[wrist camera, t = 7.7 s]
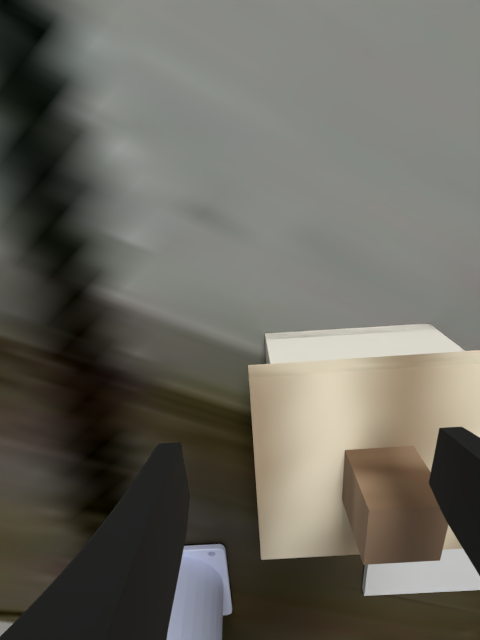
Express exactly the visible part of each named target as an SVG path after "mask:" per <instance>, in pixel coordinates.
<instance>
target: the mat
mask: <svg viewBox="0 0 480 640" xmlns="http://www.w3.org/2000/svg"><path fill="white" fill-rule="evenodd" d="M362 590H363V593H364V596H369V595H389V594H409V593H428V592H448V591H468V590H480V576H479V574H478V572H477V571H476V569H475V568H474V566H473V564H472V563H471V561H470V559H469V558H468V556H467V555H466V553H465V551H464V550H463V549H445V550H442V555H441V559H440V561H424V562H406V563H387V564H369V565H365V568H364V577H363V585H362Z"/></svg>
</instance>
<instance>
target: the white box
mask: <svg viewBox="0 0 480 640" xmlns="http://www.w3.org/2000/svg"><path fill="white" fill-rule="evenodd" d="M265 351H266V364H274V363H290V362H306V361H321V360H337V359H352V358H368V357H383V356H399V355H414V354H430V353H445V352H461V351H464V350H463V349H462V348H460V347H459V346H458V345H457V344H455V343H454V342H453V341H451V340H450V339H449V338H447V337H446V336H445V335H443V334H442V333H441V332H439V331H438V330H437V329H436V328H434V327H433V326H432V325H430V324H413V325H397V326H381V327H364V328H348V329H331V330H315V331H298V332H282V333H266V334H265Z"/></svg>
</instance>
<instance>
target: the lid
mask: <svg viewBox="0 0 480 640" xmlns="http://www.w3.org/2000/svg"><path fill="white" fill-rule="evenodd" d="M248 370H249V385H250V400H251V415H252V430H253V445H254V460H255V475H256V490H257V505H258V519H259V534H260V549H261V560H266V559H284V558H302V557H320V556H338V555H356V554H360V556H361V559H362V562H363V565H369V564H387V563H406V562H424V561H440V559H441V555H442V550H445V549H463V548H462V546H461V545H460V543H459V541H458V540H457V538H456V536H455V535H454V533H453V531H452V530H451V528H450V526H449V525H448V523H447V521H446V519H445V517H444V515H443V513H442V511H441V509H440V507H439V505H438V503H437V501H436V498H435V496H434V494H433V492H432V489H431V487H430V485H429V479H430V474H431V468H432V463H433V458H434V453H435V448H436V443H437V438H438V433H439V428H446V427H463V428H465V429H467V430H468V431H470V432H472V433H473V434H475V435H477V436H478V437H480V350H476V351H461V352H445V353H430V354H414V355H399V356H383V357H368V358H352V359H337V360H321V361H306V362H290V363H274V364H259V365H248Z"/></svg>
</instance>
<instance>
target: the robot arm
mask: <svg viewBox="0 0 480 640" xmlns="http://www.w3.org/2000/svg"><path fill="white" fill-rule="evenodd" d="M429 485H430V487H431V489H432V492H433V494H434V496H435V498H436V501H437V503H438V505H439V507H440V509H441V511H442V513H443V515H444V517H445V519H446V521H447V523H448V525H449V526H450V528H451V530H452V531H453V533H454V535H455V536H456V538H457V540H458V541H459V543H460V545H461V546H462V548H463V550H464V551H465V553H466V555H467V556H468V558H469V559H470V561H471V563H472V564H473V566H474V568H475V569H476V571H477V572H478V574H479V576H480V437H478V436H477V435H475V434H473V433H472V432H470V431H468V430H467V429H465V428H463V427H446V428H439V433H438V438H437V443H436V448H435V453H434V458H433V463H432V468H431V474H430V479H429ZM188 509H189V490H188V484H187V477H186V471H185V465H184V459H183V453H182V446H181V443H165V444H159V445H158V446H157V447H156V448H155V450H154V451H153V453H152V454H151V456H150V457H149V459H148V460H147V462H146V463H145V465H144V467H143V468H142V470H141V471H140V473H139V474H138V475H137V477H136V478H135V480H134V481H133V483H132V484H131V486H130V487H129V488H128V490H127V491H126V493H125V494H124V495H123V497H122V498H121V499H120V501H119V502H118V504H117V505H116V506H115V508H114V509H113V510H112V512H111V513H110V514H109V516H108V517H107V518H106V520H105V521H104V522H103V523H102V525H101V526H100V527H99V528H98V530H97V531H96V532H95V533H94V535H93V536H92V537H91V538H90V540H89V541H88V542H87V543H86V545H85V546H84V547H83V548H82V550H81V551H80V552H79V553H78V554H77V555H76V557H75V558H74V559H73V560H72V561H71V562H70V564H69V565H68V566H67V567H66V568H65V569H64V570H63V572H62V573H61V574H60V575H59V576H58V577H57V578H56V579H55V580H54V582H53V583H52V584H51V585H50V586H49V587H48V588H47V589H46V590H45V591H44V592H43V594H42V595H41V596H40V597H39V598H38V599H37V600H36V601H35V602H34V603H33V604H32V605H31V606H30V607H29V608H28V609H27V610H26V611H25V612H24V613H23V614H22V615H21V616H20V617H19V618H18V619H17V620H16V621H15V622H14V624H13V625H12V626H10V627H9V628H8V630H7V631H5V632H4V633H3V634H2V635H1V636H0V640H222V623H223V615H229V614H231V613H232V601H231V592H230V584H229V575H228V567H227V558H226V549H225V547H224V546H223V545H221V544H208V545H190V546H184V544H185V538H186V531H187V520H188Z"/></svg>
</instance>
